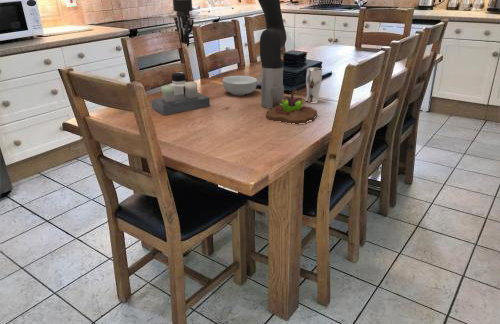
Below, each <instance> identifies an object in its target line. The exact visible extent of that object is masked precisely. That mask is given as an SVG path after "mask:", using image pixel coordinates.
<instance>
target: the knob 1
mask: <svg viewBox="0 0 500 324" xmlns="http://www.w3.org/2000/svg"><path fill="white" fill-rule="evenodd" d="M160 90H161V98H162V100H163V102H165V103H168V102H174V101H175V94H174V86H172V85H170V84H169V85H168V84H167V85H166V84H165V85H162V86H161V89H160Z"/></svg>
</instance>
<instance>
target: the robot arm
mask: <svg viewBox="0 0 500 324" xmlns="http://www.w3.org/2000/svg"><path fill="white" fill-rule="evenodd" d="M257 1H258V3H259V6H260V8H261V9H262V12H263V15H264V20H265V24H266V25H265V27H266V29H264V30H263V31H262V32H261V34H260V37H259V58H260V62H261V78H260V79H261V83H260V85H261V89H260V91H261V92H260V93H261V95H260V98H261V99H260V100H261V101H260V104H261V105H260V106H261V107H263V108H265V107H266V109H271V108H272V109H273V108H274V107H275V106H277V105H280V104H283V105H284V103H283V102H282V100H283V99H284V98H285V96H284V95H285V94H284V92H285V85H284V82H283V80H284V79H283V78H284V59H282V55H281V52H282V51H281V49H282V48H283V47H284V46H285V44H286V43H287V32H286V29H285V24H284V20H283V16H282V10H281V8H282V7H281V1H280V0H257ZM172 5H173V6H172V8H173V12H176V16H175V17H173V20H174V23H175V27H176V30H177V32H178V33H179V34H180V43H181V44H184V45H189V44H190V34H192V32H193V28H194V22H195V21H194V18H192V19H191V14H190V12H192V11H193V0H172ZM279 103H280V104H279Z"/></svg>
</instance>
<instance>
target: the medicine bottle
mask: <svg viewBox="0 0 500 324" xmlns="http://www.w3.org/2000/svg"><path fill="white" fill-rule="evenodd" d="M171 80H172V81H171V82H172V83H170V84H169V85H172V86H174V94H175V95H180V94H185V83H186V82H187V81H186V74H185V73H184V72H180V71H177V72H176V71H175V72H173V73H172V74H171Z"/></svg>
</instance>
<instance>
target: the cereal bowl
mask: <svg viewBox="0 0 500 324" xmlns="http://www.w3.org/2000/svg"><path fill="white" fill-rule="evenodd" d="M257 86H258V78H255V77H253V76H247V75H229V76H225V77H223V79H222V87H223V88H224V90H225V91H226V92H228V93H231V94H232V95H233V94H234V96H246V95H245V94H247V95H248V94H250V93H252V92H254V91H255V90H256V88H257Z"/></svg>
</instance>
